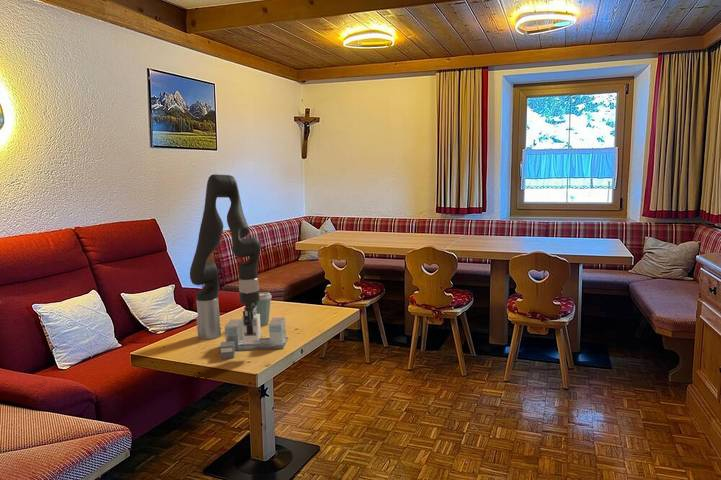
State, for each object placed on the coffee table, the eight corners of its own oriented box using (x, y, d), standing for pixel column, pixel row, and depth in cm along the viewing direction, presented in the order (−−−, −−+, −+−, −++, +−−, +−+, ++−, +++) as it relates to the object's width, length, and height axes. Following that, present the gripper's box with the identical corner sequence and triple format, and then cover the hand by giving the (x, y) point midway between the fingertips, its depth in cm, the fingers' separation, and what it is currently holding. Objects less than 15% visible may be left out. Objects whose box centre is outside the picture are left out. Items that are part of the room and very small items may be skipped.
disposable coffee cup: (246, 324, 255) (243, 294, 253) (265, 319, 263) (263, 289, 261) (258, 328, 248) (256, 297, 246) (278, 323, 255) (275, 292, 253)
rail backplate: (224, 351, 219) (222, 327, 217) (232, 341, 230) (230, 319, 229) (283, 348, 218) (281, 324, 217) (287, 339, 230) (286, 316, 229)
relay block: (220, 359, 209) (219, 347, 208) (222, 354, 215) (221, 342, 215) (234, 358, 210) (232, 346, 209) (235, 353, 216) (234, 341, 215)
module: (242, 340, 207) (241, 318, 206) (246, 336, 212) (244, 314, 211) (258, 340, 207) (257, 317, 206) (261, 335, 212) (259, 313, 211)
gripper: (243, 285, 214) (246, 326, 216) (234, 294, 200) (237, 338, 202) (262, 285, 214) (265, 326, 216) (254, 294, 199) (257, 338, 202)
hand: (251, 331), depth 209 cm, fingers closed on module, 5 cm apart
